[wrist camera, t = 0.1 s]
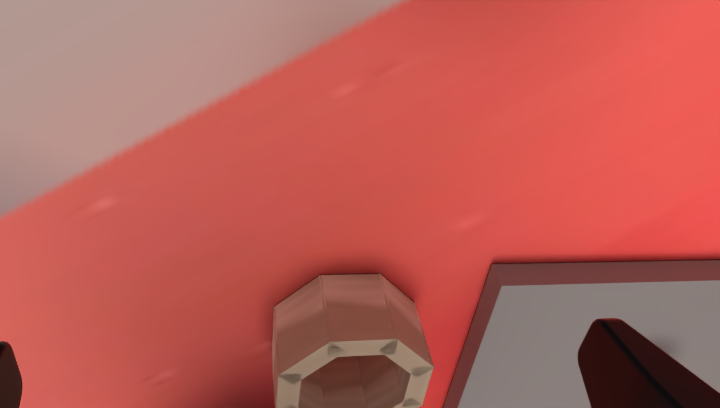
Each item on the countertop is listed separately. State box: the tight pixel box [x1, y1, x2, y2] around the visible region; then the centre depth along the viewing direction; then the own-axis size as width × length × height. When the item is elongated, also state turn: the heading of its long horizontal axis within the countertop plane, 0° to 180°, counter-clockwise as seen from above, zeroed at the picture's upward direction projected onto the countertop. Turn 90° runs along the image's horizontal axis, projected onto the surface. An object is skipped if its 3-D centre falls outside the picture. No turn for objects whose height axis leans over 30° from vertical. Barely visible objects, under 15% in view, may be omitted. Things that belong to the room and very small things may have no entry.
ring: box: [271, 273, 434, 408], centre depth 30 cm, size 7×7×4 cm
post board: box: [443, 260, 720, 408], centre depth 34 cm, size 14×20×6 cm
